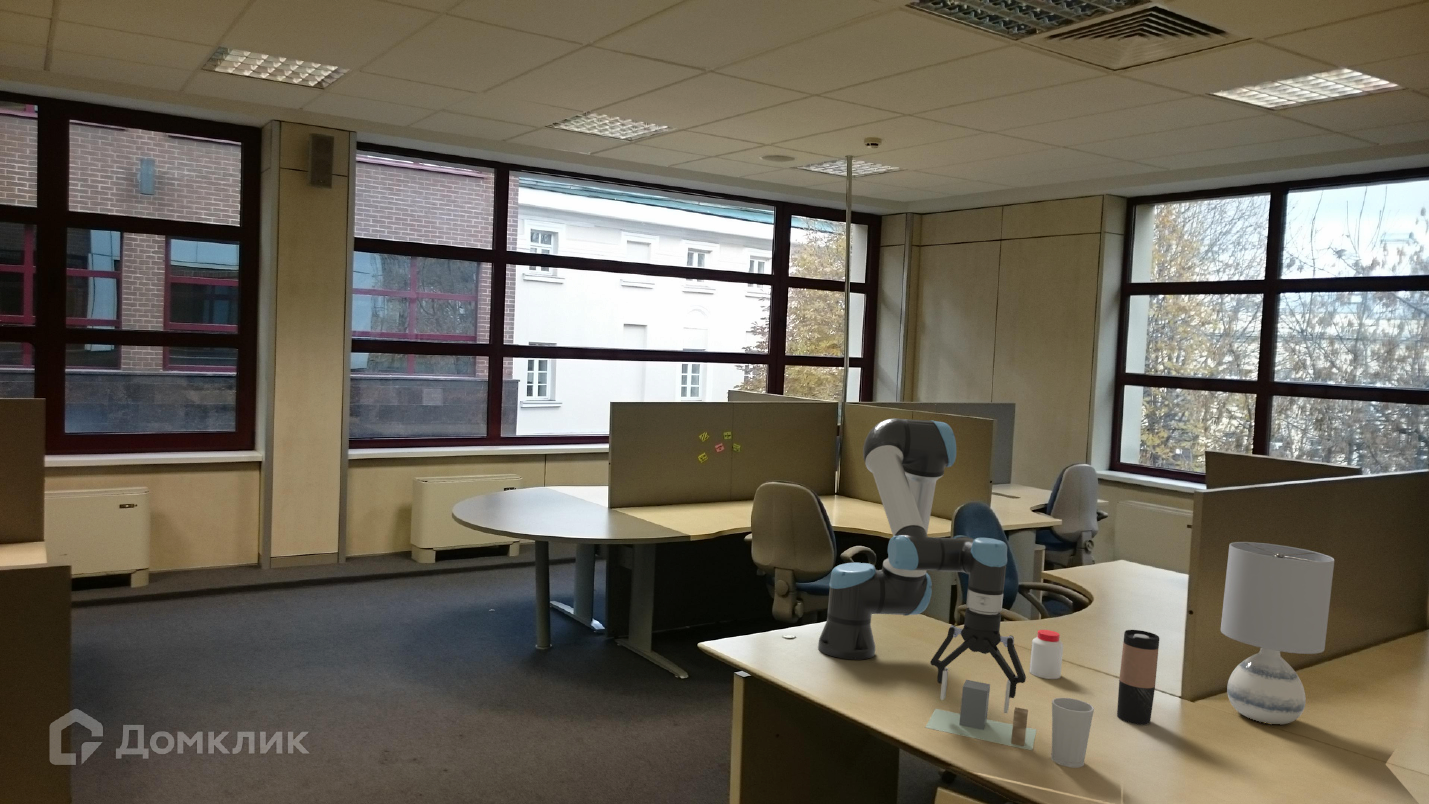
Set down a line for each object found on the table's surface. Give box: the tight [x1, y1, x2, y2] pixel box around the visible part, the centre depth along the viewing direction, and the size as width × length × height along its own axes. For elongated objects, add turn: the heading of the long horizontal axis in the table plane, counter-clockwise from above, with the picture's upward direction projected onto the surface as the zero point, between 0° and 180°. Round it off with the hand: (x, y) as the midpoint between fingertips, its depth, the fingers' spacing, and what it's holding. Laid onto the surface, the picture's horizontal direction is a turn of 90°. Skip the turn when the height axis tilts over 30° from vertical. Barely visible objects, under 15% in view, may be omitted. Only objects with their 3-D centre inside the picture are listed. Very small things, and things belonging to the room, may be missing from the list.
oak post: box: [1011, 706, 1029, 746], centre depth 205 cm, size 3×3×7 cm
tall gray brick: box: [959, 679, 991, 730], centre depth 215 cm, size 5×5×9 cm
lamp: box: [1220, 541, 1335, 725], centre depth 233 cm, size 22×22×40 cm
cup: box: [1050, 697, 1095, 768], centre depth 198 cm, size 8×8×12 cm
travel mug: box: [1116, 629, 1160, 726], centre depth 226 cm, size 8×8×20 cm
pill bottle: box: [1028, 629, 1064, 680], centre depth 256 cm, size 8×8×11 cm
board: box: [924, 708, 1037, 751], centre depth 212 cm, size 22×13×1 cm, turn 68°
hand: (974, 704), depth 215 cm, fingers open, 13 cm apart
